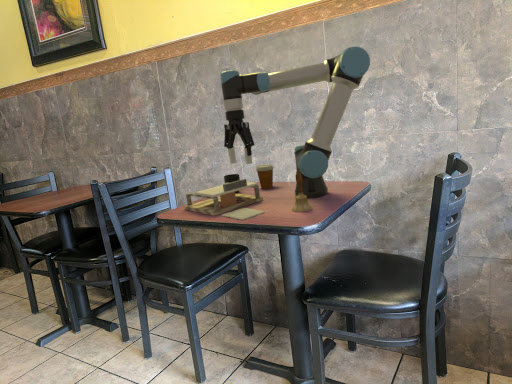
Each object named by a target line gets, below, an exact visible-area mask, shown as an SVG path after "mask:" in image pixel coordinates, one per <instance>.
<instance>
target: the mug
mask: <svg viewBox="0 0 512 384" xmlns="http://www.w3.org/2000/svg"><path fill="white" fill-rule="evenodd" d="M223 180H224V184H225V183H231V182H235V181H239V180H241V179H240V174H239V173H230V174H226V175H224V176H223ZM239 193H240V190H238V191H235V194H239Z"/></svg>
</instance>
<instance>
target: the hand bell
mask: <svg viewBox="0 0 512 384" xmlns="http://www.w3.org/2000/svg"><path fill="white" fill-rule="evenodd" d="M295 182H296V184H297V185H298V192H299V195H298V196H295V199H294V200H295V201H294V206H293V207H292V209H291V211H292V212H293V211H294V212H293V213H304V212H305V213H306V211H307V212H310V211H312V210H313V209H314V208H313V206H312V205H311V204H310V202H309V199H308V198H307V196H306V195H304V194H303V191H302V175H301V173H300V170H296V171H295Z"/></svg>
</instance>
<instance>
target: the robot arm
mask: <svg viewBox="0 0 512 384" xmlns="http://www.w3.org/2000/svg"><path fill="white" fill-rule="evenodd" d="M370 65H371V57H370V55H369V53H368V52H367V50H366V49H364V48H362V47H360V46H350V47H347V48H345V49H344V50H343V51H342V52H341V53H340V54H338V55H337V56H334V57H332V58H328V59H327V58H326V59H325V60H324V61H323V62H321V63H315V64H311V65H305V66H300V67H296V68H290V69H286V70H281V71H280V70H279V71H276V72H270V73H269V72H267V71H259V72H253V73H247V74H240V73H239V70H237V69H232V70H231V69H230V70H225V71H222V72H221V73H220V79H221V80H220V81H221V82H220V83H221V89H222V96H223V97H222V98H223V105H224V111H225V120H226V121H228V123H226V124H224V125H223V127H224V142H223V147H224V148H227V150H228V151H227V152H228V156H229V163H230V164H231V165H232V164H237V159H236V158H237V157H236V151H235V150H236V149H235V146H234V144H235V139H236V135H239V138H240V139H241V142H242V143H243V145H244V148H243V150H244V159H245V164H246V165H250V164H253V159H252V155H253V153H252V147H254V146H255V141H254V138H253V136H252V132H251V128H250V122H249V121H244V119H245V113H244V109H243V108H244V104H243V98H242V97H243V94H252V95H253V96H254V95H255V96H257V95H260V94H265V93H269V92H274V91H278V90H284V89H289V88H295V87H299V86H304V85H309V84H310V85H311V84H316V83H320V82H327V84H328V83H332V84H331V86H330V89H329V92H328V94H327V97H326V99H325V101H324V103H323V107H322V110H321V112H320V115H319V117H318V120H317V123H316V125H315V126H314V130H313V133H312V134H311V137H310V138H309V139H307V140H306V141H305V143H304V144H302V145H297V146H295V147H294V156H295V157H294V158H295V159H294V160H295V167H296V168H295V170H296V171H297V170H300V173H301V175H302V191H303V194H304V195H306V196H307V199H310V198H311V199H312V198H318V197H323V196H326V195H327V194H328V193H329V192H328V191H329V190H328V187H327V184H326V182H325V181H326V180H325V179H324V176H323V175H325V173H326V172H327V170H328V168H329V160H330V157H331V156H332V155H331V154H332V153H333V150H332V146H331V145H332V143H333V140H334V138H335V135H336V133H337V130H338V128H339V125H340V123H341V121H342V118H343V116H344V112H346V111H345V110H346V109H347V106H348V105H349V101H350V100H351V99H350V98H351V96H352V94H353V92H354V90H356V89H359V87H360V84H361V82H362V79H363V77H364V75H365V74H366V73H367V72H368V71H369V68H370ZM294 195H295V197H296V196H298V195H299V192H298V185H297V183H296V185H295V190H294Z"/></svg>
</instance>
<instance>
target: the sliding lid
mask: <svg viewBox="0 0 512 384" xmlns="http://www.w3.org/2000/svg"><path fill="white" fill-rule="evenodd" d="M256 185H258V186H259V182H253V181H252V182H251V181H247V178H244V179H240V180H239V181H235V182H231V183H227V184H225V183H224V184H222V185H218V186H214V187H211V188H206V189H202V190H199V191H194V194H195V195H202V196H208V197H219V196H220V195H224V194H227V193H231V192H235V191H238V190H239V191H241V190H244V189H245V190H246V189H249V188H252V186H256Z"/></svg>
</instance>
